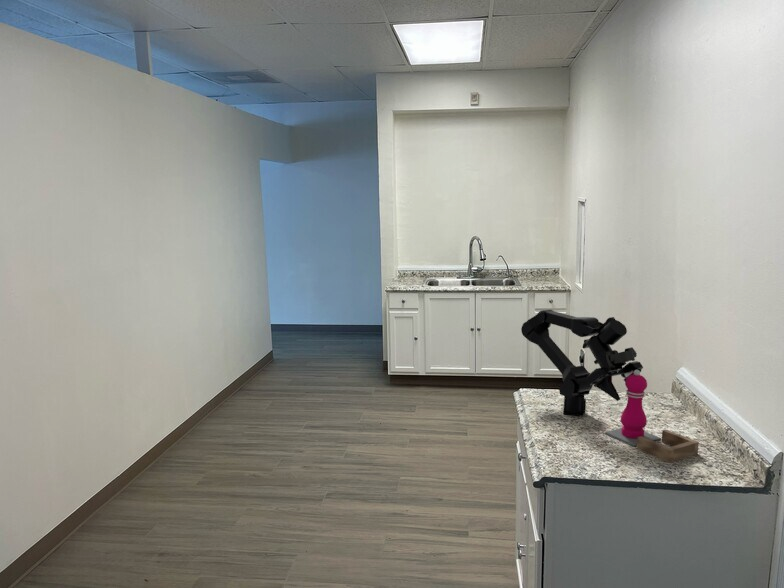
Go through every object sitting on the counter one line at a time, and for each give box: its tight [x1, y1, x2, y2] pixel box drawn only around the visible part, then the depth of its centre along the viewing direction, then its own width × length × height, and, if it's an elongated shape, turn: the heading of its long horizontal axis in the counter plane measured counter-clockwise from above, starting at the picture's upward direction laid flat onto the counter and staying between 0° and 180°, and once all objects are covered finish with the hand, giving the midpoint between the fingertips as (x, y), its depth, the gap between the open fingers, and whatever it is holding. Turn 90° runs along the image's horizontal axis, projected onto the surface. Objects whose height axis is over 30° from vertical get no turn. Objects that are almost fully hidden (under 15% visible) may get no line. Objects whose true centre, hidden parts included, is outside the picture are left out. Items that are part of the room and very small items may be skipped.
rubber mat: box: [604, 427, 662, 448], centre depth 180 cm, size 11×11×1 cm
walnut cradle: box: [636, 429, 700, 464], centre depth 169 cm, size 10×12×4 cm
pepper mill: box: [620, 370, 648, 439], centre depth 178 cm, size 7×7×20 cm
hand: (629, 397), depth 180 cm, fingers open, 9 cm apart
